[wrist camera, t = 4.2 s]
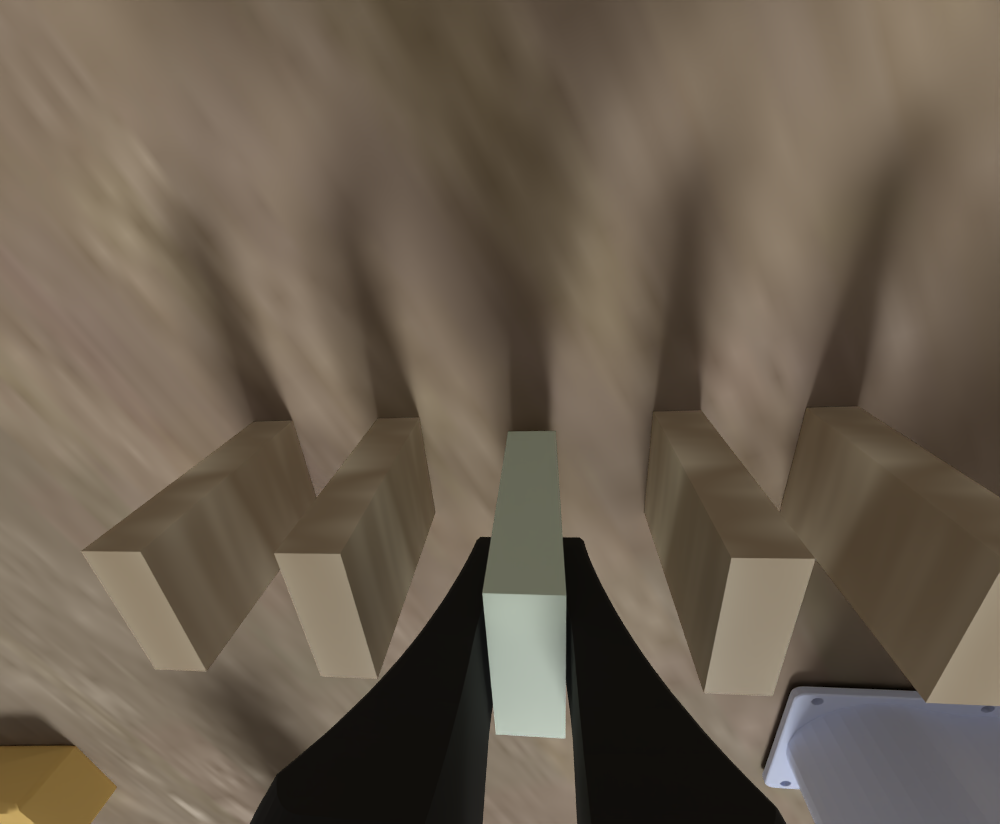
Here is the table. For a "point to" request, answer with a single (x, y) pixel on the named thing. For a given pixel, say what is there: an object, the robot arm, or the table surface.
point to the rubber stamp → (50, 786)
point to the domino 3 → (527, 592)
